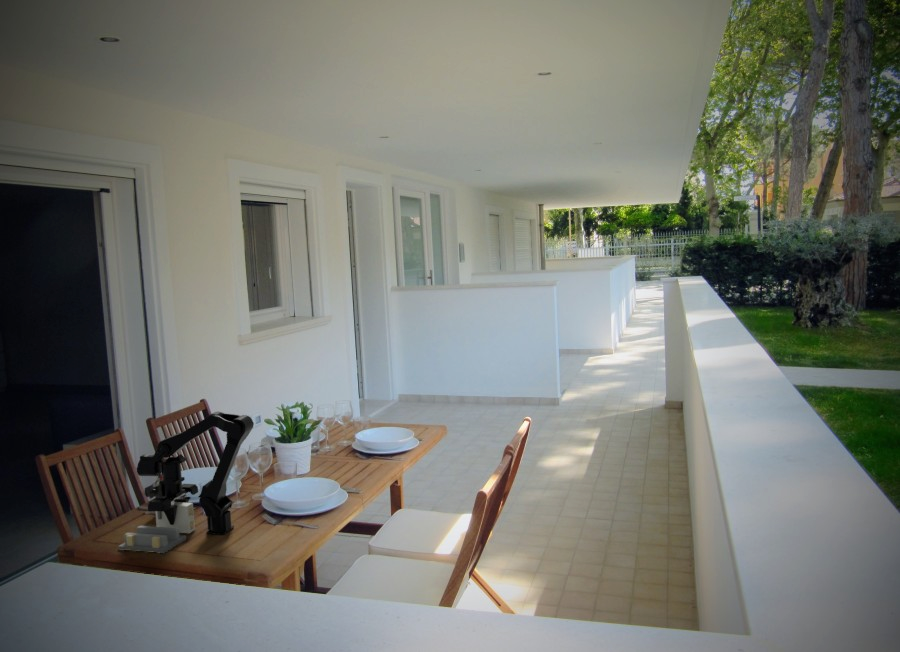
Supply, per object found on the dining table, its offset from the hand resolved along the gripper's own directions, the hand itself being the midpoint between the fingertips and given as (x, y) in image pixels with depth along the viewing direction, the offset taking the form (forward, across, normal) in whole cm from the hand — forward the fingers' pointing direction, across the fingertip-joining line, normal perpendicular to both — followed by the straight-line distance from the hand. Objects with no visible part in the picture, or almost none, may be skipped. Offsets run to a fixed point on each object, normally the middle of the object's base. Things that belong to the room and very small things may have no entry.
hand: (175, 522), depth 226 cm
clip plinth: (+2, +12, 0) cm, 12 cm away
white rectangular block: (+3, 0, 0) cm, 3 cm away
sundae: (+3, -14, -15) cm, 21 cm away
